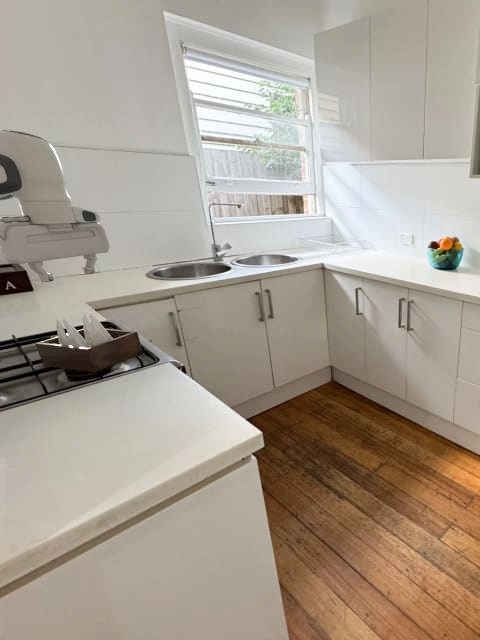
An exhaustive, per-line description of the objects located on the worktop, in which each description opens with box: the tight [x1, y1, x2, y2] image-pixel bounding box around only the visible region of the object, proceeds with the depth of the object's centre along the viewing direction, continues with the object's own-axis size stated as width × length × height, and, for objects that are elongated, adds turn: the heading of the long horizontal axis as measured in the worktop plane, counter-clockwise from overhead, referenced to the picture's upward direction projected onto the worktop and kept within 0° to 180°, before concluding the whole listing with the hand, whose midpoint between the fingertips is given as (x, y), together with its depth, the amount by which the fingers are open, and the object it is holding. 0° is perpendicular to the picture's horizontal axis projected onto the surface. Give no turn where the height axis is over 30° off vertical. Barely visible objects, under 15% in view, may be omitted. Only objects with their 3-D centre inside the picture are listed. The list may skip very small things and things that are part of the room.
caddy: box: [34, 328, 144, 373], centre depth 94 cm, size 13×16×6 cm
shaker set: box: [55, 312, 113, 348], centre depth 93 cm, size 12×4×11 cm, turn 91°
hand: (70, 277), depth 89 cm, fingers open, 8 cm apart
